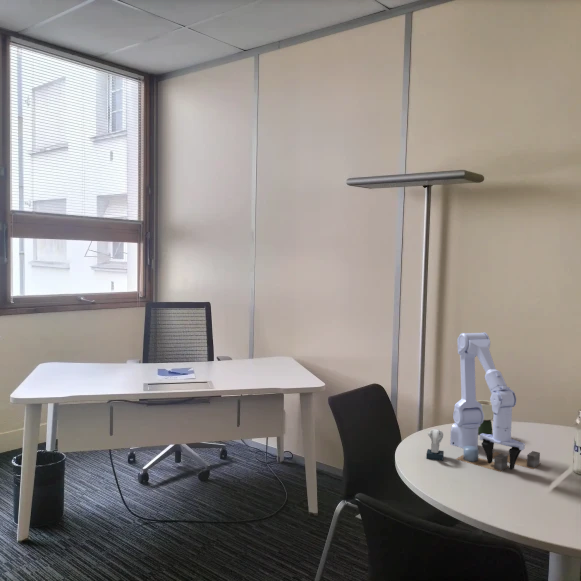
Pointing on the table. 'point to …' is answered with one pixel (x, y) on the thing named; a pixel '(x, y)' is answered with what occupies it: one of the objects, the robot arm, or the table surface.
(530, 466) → the strip empty
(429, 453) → the white figurine on base
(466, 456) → the blue-grey rounded block
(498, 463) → the strip
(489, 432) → the character mug
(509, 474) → the table surface
